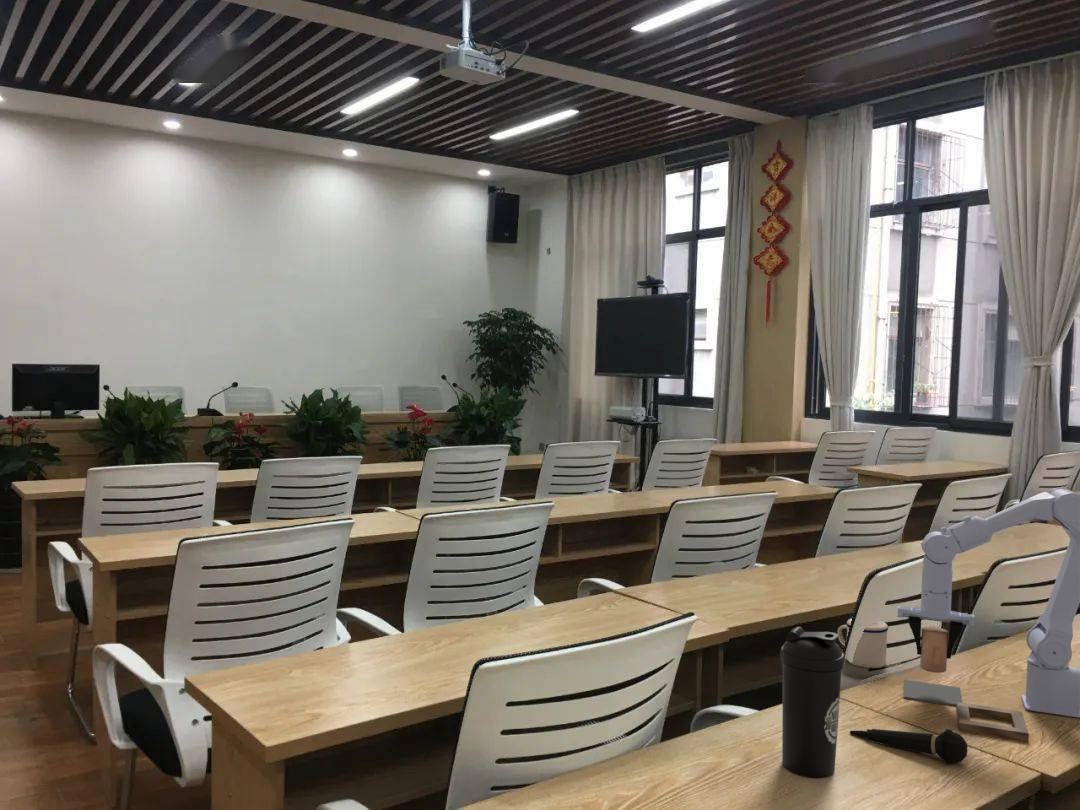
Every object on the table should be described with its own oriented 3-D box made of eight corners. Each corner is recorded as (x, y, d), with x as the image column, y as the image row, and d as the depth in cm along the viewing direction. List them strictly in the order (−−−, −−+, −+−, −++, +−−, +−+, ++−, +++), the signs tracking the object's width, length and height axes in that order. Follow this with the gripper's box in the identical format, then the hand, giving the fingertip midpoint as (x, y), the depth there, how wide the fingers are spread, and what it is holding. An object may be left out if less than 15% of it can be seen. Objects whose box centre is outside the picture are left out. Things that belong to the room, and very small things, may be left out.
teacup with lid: (894, 664, 205) (896, 613, 205) (872, 671, 200) (874, 620, 199) (848, 650, 215) (850, 602, 214) (826, 657, 209) (827, 607, 209)
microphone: (848, 754, 164) (966, 774, 151) (842, 727, 162) (960, 744, 150) (858, 736, 168) (973, 754, 155) (852, 710, 167) (967, 725, 154)
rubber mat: (960, 689, 190) (960, 687, 190) (962, 707, 180) (962, 705, 180) (904, 681, 194) (904, 679, 194) (903, 698, 184) (903, 696, 184)
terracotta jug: (917, 661, 190) (919, 624, 189) (943, 664, 189) (945, 626, 188) (923, 674, 182) (925, 636, 182) (950, 677, 181) (952, 638, 180)
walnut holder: (1021, 719, 174) (1021, 711, 174) (1028, 741, 163) (1028, 733, 163) (956, 709, 178) (956, 701, 178) (958, 730, 168) (959, 722, 168)
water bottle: (831, 786, 144) (836, 645, 143) (769, 770, 149) (773, 633, 148) (846, 763, 153) (851, 630, 152) (787, 748, 158) (791, 619, 157)
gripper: (974, 590, 187) (971, 654, 187) (899, 582, 192) (896, 644, 193) (976, 598, 180) (973, 664, 181) (898, 589, 186) (895, 654, 186)
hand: (933, 655), depth 186 cm, fingers closed on terracotta jug, 5 cm apart
